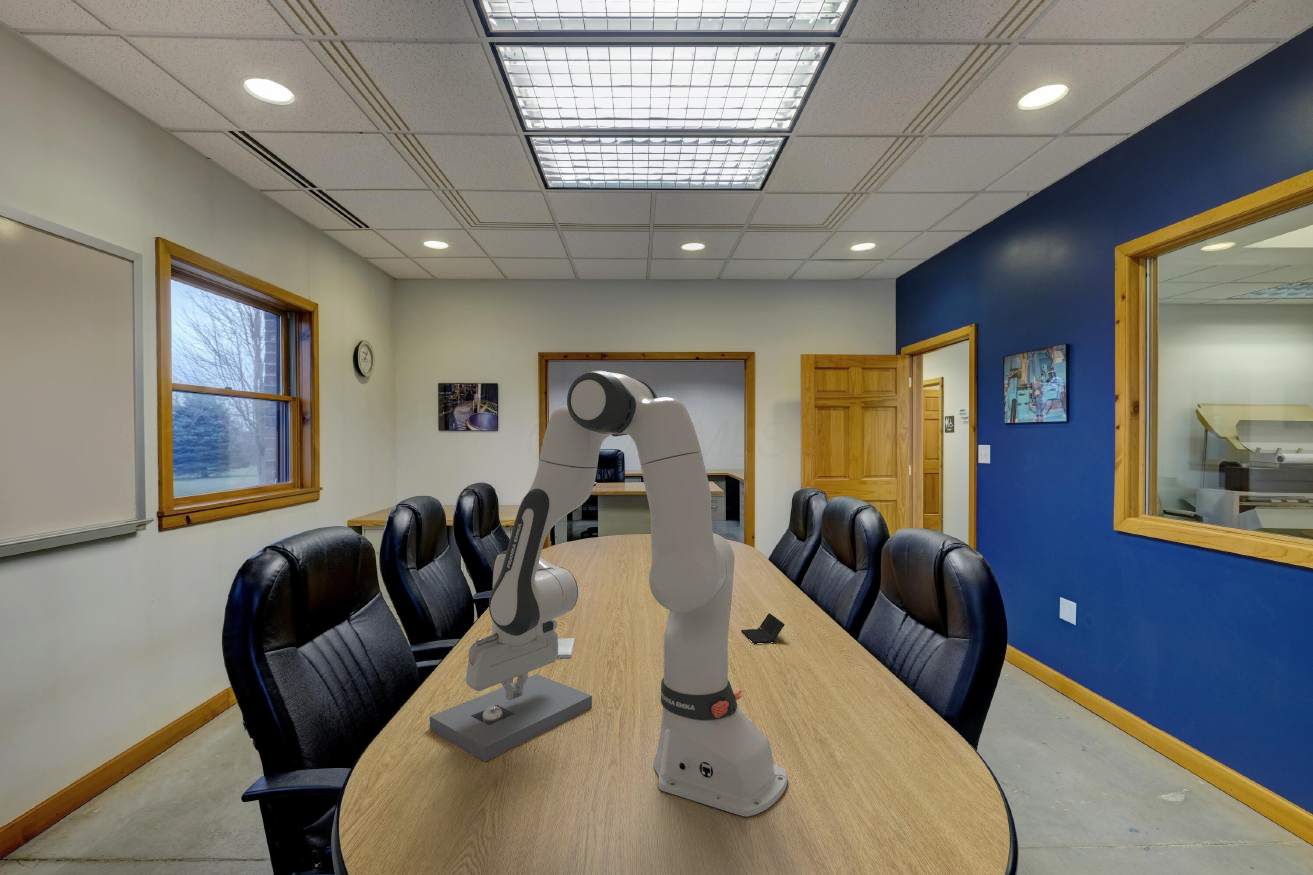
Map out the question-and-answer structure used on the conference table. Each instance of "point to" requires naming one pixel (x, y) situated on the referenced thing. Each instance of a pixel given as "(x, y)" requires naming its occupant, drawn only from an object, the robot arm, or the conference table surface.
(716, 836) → the conference table surface
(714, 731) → the robot arm
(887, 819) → the conference table surface
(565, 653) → the hard drive
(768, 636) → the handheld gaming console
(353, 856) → the conference table surface
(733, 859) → the conference table surface
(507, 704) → the board
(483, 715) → the steel ball
